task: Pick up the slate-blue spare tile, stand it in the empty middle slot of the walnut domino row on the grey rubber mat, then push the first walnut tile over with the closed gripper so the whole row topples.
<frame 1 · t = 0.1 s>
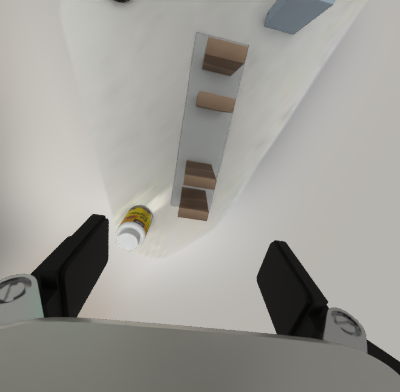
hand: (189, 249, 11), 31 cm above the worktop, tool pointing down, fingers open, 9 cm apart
slate tile: (281, 23, 32), on the worktop
tile 5: (193, 192, 43), resting on mat
tile 2: (210, 104, 36), resting on mat
tile 1: (217, 66, 34), resting on mat
supplement bottle: (140, 214, 45), on the worktop
mat: (203, 137, 39), on the worktop
tile 4: (198, 166, 41), resting on mat
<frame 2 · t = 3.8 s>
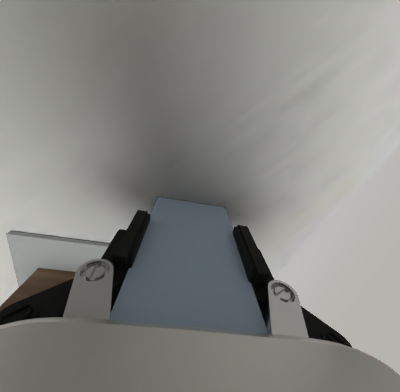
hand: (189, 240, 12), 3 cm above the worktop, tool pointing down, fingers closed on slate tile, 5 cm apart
slate tile: (190, 212, 15), on the worktop, touching gripper
tile 1: (71, 279, 17), resting on mat
mat: (81, 354, 22), on the worktop
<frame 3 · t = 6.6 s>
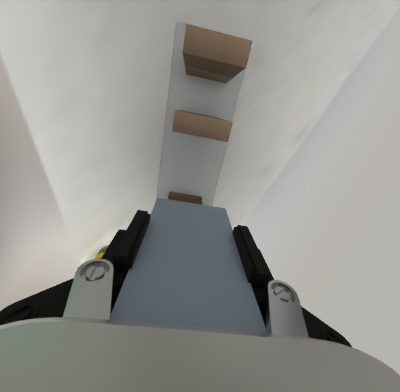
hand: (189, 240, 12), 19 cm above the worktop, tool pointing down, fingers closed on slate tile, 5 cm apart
slate tile: (190, 213, 15), point 16 cm above the worktop, touching gripper
tile 2: (198, 121, 27), resting on mat
tile 1: (207, 70, 24), resting on mat
mat: (191, 162, 29), on the worktop
tile 4: (184, 199, 31), resting on mat
when the fingers open (5 cm above the worktop, at t = 9.5 s): slate tile stays where it is, resting on mat.
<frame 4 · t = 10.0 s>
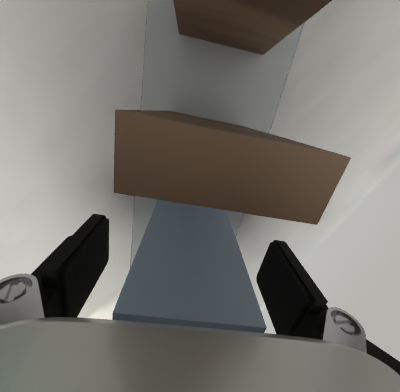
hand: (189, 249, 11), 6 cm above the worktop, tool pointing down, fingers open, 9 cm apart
slate tile: (190, 207, 16), resting on mat
tile 2: (204, 132, 14), resting on mat
tile 1: (225, 26, 11), resting on mat
mat: (190, 205, 16), on the worktop
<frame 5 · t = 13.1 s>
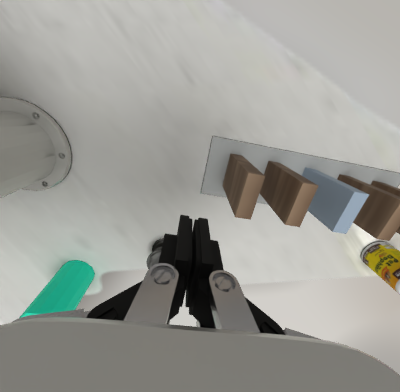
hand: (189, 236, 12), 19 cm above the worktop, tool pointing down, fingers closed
slate tile: (303, 183, 31), resting on mat
tile 5: (369, 195, 33), resting on mat
tile 2: (268, 177, 31), resting on mat
tile 1: (231, 171, 30), resting on mat
supplement bottle: (372, 251, 38), on the worktop
candle: (79, 271, 38), on the worktop
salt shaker: (166, 249, 36), on the worktop
mat: (302, 183, 32), on the worktop
tile 4: (337, 190, 32), resting on mat
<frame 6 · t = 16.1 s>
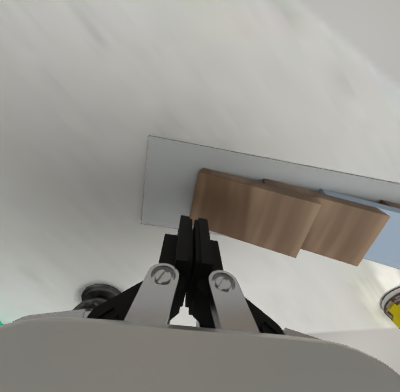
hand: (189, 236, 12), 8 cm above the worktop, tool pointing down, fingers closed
slate tile: (312, 214, 20), point 1 cm above the worktop, tilted 73°, touching mat, tile 2, tile 4
tile 2: (255, 205, 19), point 1 cm above the worktop, tilted 73°, touching mat, slate tile, tile 1
tile 1: (195, 195, 18), point 1 cm above the worktop, tilted 73°, touching mat, tile 2
supplement bottle: (397, 297, 27), on the worktop
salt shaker: (104, 297, 25), on the worktop
mat: (296, 207, 21), on the worktop
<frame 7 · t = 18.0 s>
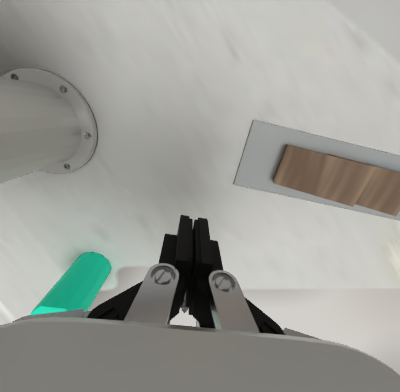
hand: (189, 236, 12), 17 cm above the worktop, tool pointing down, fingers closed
tile 2: (321, 173, 27), point 1 cm above the worktop, tilted 73°, touching mat, slate tile, tile 1
tile 1: (279, 163, 26), point 1 cm above the worktop, tilted 73°, touching mat, tile 2
candle: (94, 264, 35), on the worktop
mat: (348, 178, 28), on the worktop
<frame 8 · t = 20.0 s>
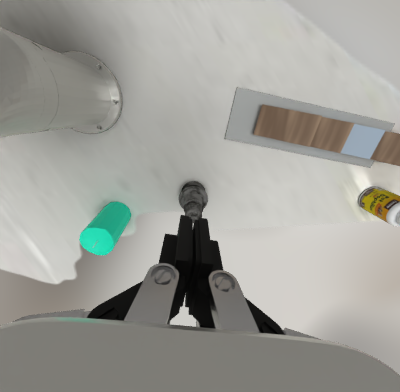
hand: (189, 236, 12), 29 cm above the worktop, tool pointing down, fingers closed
slate tile: (317, 132, 37), point 1 cm above the worktop, tilted 73°, touching mat, tile 2, tile 4
tile 2: (288, 126, 36), point 1 cm above the worktop, tilted 73°, touching mat, slate tile, tile 1
tile 1: (257, 119, 36), point 1 cm above the worktop, tilted 73°, touching mat, tile 2
supplement bottle: (368, 197, 45), on the worktop
candle: (117, 213, 44), on the worktop
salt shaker: (193, 192, 43), on the worktop
mat: (308, 131, 38), on the worktop
tile 4: (349, 139, 38), point 1 cm above the worktop, tilted 70°, touching mat, slate tile, tile 5
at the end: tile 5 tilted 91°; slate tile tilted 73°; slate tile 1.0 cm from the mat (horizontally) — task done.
